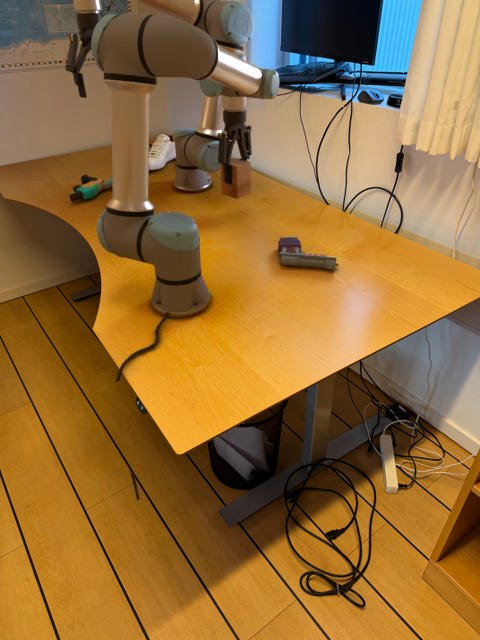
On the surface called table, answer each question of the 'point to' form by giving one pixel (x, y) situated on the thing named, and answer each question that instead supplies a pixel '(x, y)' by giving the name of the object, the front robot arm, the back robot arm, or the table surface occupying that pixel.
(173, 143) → the sneaker
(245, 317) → the table surface
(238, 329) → the table surface
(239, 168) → the block
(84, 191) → the toy gun
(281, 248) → the toy gun
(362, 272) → the table surface
